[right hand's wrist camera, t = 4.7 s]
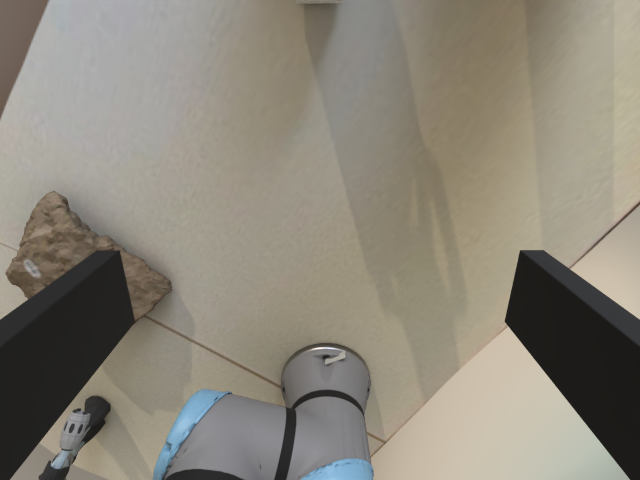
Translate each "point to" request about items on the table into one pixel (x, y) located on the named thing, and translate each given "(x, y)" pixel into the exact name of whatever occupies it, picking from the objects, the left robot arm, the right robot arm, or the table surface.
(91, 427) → the robot
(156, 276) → the stone
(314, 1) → the bar
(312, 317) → the table surface
